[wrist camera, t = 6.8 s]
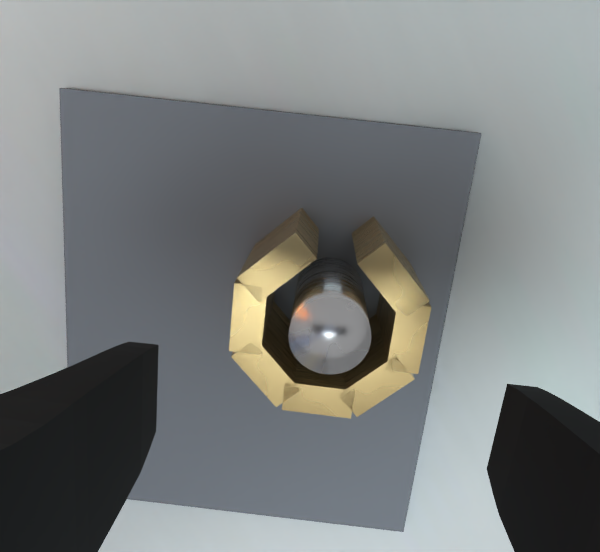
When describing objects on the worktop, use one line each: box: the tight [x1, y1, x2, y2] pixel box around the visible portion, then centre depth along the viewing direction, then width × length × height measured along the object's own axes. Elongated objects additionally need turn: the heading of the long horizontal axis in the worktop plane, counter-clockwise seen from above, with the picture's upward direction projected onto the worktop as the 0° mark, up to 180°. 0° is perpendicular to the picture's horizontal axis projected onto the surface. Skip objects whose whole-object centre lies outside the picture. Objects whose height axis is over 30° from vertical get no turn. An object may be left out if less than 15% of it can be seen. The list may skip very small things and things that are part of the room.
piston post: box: [288, 257, 371, 375], centre depth 16 cm, size 2×2×4 cm
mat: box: [60, 88, 481, 532], centre depth 19 cm, size 15×13×1 cm
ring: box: [229, 208, 431, 419], centre depth 17 cm, size 5×5×4 cm
